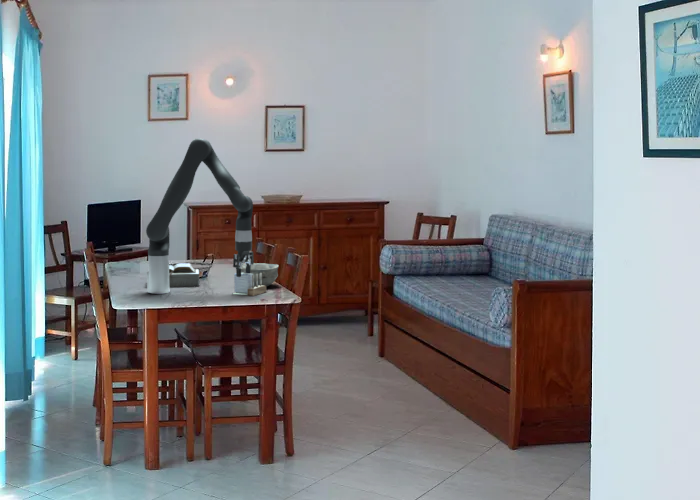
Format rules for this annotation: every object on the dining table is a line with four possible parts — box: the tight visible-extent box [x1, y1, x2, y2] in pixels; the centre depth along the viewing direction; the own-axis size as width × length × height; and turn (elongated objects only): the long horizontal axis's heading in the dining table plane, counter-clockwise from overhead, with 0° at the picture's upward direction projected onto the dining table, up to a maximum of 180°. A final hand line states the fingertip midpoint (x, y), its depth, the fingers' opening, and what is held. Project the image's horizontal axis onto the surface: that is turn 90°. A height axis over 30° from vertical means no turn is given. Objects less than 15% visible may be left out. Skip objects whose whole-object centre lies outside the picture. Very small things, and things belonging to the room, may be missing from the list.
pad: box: [232, 292, 248, 296], centre depth 413 cm, size 8×10×1 cm
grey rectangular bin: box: [169, 262, 200, 288], centre depth 440 cm, size 23×27×10 cm
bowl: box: [239, 262, 279, 288], centre depth 432 cm, size 21×21×10 cm
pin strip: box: [247, 273, 267, 297], centre depth 410 cm, size 3×12×9 cm, turn 157°
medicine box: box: [233, 273, 253, 293], centre depth 412 cm, size 8×4×9 cm, turn 59°
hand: (243, 275), depth 412 cm, fingers open, 8 cm apart
